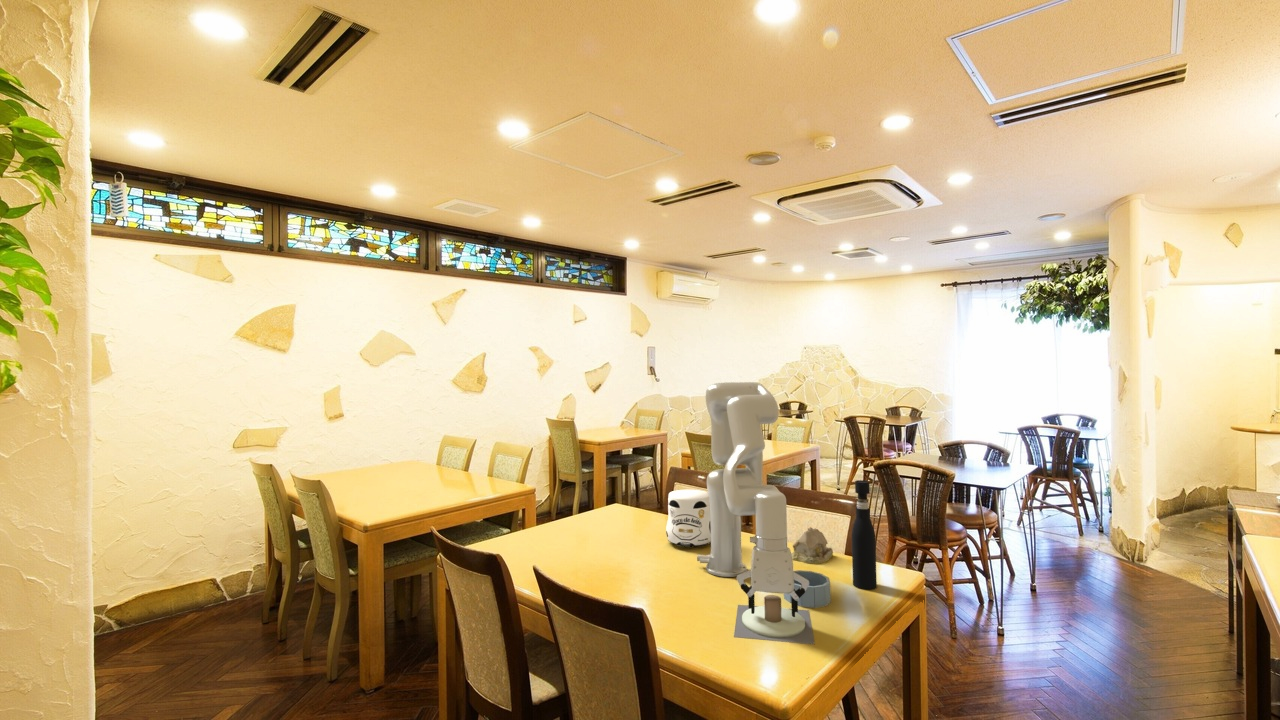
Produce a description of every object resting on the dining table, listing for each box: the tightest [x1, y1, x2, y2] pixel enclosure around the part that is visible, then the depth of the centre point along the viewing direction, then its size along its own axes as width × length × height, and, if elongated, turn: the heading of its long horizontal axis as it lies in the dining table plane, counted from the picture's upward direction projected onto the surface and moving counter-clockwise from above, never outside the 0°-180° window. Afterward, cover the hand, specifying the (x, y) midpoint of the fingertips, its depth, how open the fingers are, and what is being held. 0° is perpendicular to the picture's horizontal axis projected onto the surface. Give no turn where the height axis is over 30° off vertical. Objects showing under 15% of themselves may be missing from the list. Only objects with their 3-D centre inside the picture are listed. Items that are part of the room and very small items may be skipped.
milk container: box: [665, 489, 711, 548], centre depth 200 cm, size 17×17×18 cm
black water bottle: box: [851, 479, 878, 591], centre depth 159 cm, size 6×6×30 cm
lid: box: [742, 594, 805, 638], centre depth 134 cm, size 15×15×6 cm
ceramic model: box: [791, 526, 834, 565], centre depth 183 cm, size 14×11×10 cm
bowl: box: [783, 569, 832, 609], centre depth 149 cm, size 12×12×6 cm
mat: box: [733, 604, 816, 645], centre depth 134 cm, size 18×18×1 cm
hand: (773, 613), depth 134 cm, fingers open, 9 cm apart
